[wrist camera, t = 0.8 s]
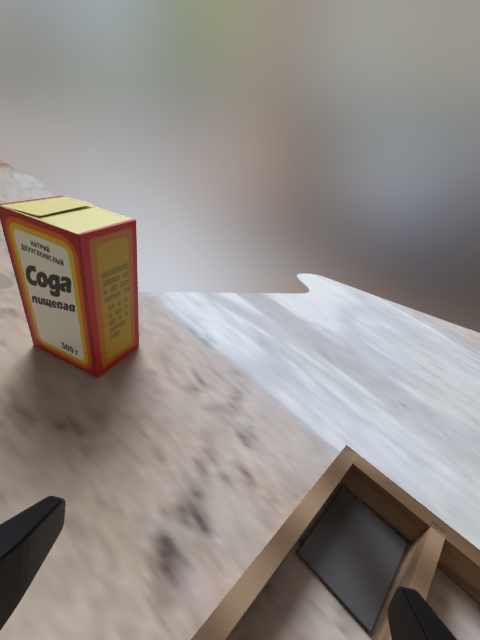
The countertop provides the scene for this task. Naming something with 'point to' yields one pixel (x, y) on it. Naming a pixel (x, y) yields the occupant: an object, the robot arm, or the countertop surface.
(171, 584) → the countertop surface
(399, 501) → the wooden compartment box
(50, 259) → the baking soda box
